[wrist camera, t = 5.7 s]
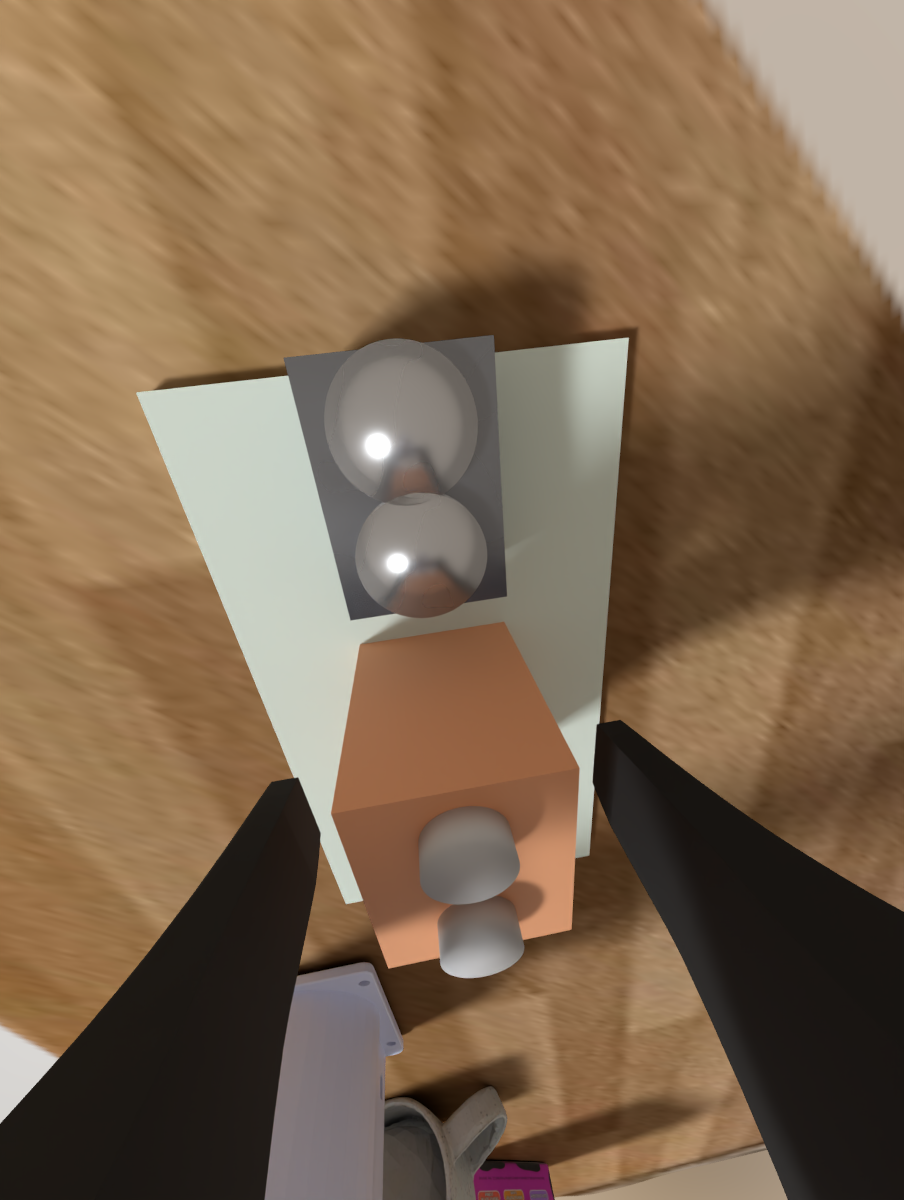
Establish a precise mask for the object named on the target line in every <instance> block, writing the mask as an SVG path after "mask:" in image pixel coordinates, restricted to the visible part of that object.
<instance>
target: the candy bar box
mask: <svg viewBox="0 0 904 1200" xmlns="http://www.w3.org/2000/svg"><path fill="white" fill-rule="evenodd" d="M473 1182H474V1189H475V1196H476V1200H555V1199H554V1194H553V1190H552V1184H551V1179H550V1174H549V1169H548V1165H547V1164H546V1163H537V1162H507V1161H484V1163H483V1164H482V1165H481V1167H480V1168H479V1169H478V1170H477V1171H476V1173H475V1174H474V1180H473Z"/></svg>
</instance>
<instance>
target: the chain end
mask: <svg viewBox="0 0 904 1200" xmlns="http://www.w3.org/2000/svg"><path fill="white" fill-rule="evenodd" d="M284 361H285V365H286V369H287V373H288V377H289V381H290V385H291V389H292V393H293V397H294V401H295V405H296V409H297V413H298V416H299V420H300V424H301V428H302V432H303V436H304V440H305V444H306V448H307V452H308V456H309V460H310V464H311V468H312V471H313V475H314V479H315V483H316V487H317V491H318V495H319V499H320V503H321V507H322V511H323V515H324V519H325V523H326V526H327V530H328V534H329V538H330V542H331V546H332V550H333V554H334V558H335V562H336V566H337V570H338V574H339V577H340V581H341V585H342V589H343V593H344V597H345V601H346V605H347V609H348V613H349V617H350V621H351V620H357V619H364V618H370V617H377V616H383V615H390V614H398V615H402V616H406V617H411V618H431V617H436V616H440V615H443V614H446V613H448V612H450V611H452V610H454V609H456V608H457V607H459V606H461V605H462V604H463V603H468V602H475V601H481V600H488V599H494V598H501V597H507V584H506V564H505V545H504V525H503V505H502V486H501V466H500V447H499V427H498V407H497V388H496V368H495V348H494V335H490V336H480V337H471V338H462V339H453V340H444V341H434V342H425V343H421V342H417V341H414V340H409V339H401V338H399V339H386V340H380V341H377V342H374V343H371V344H368V345H367V346H365V347H363V348H361V349H359V350H351V351H342V352H333V353H324V354H315V355H305V356H296V357H287V358H284Z"/></svg>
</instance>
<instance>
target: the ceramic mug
mask: <svg viewBox="0 0 904 1200" xmlns="http://www.w3.org/2000/svg"><path fill="white" fill-rule="evenodd" d="M506 1123H507V1115H506V1111H505V1109H504V1107H503V1105H502V1102H501V1100H500V1098H499V1096H498V1094H497V1091H496V1090H495V1089H494V1088H493V1087H492V1086H489V1087H486V1088H483V1089H481V1090H479V1091H477V1092H476V1093H475V1094H473V1095H472V1096H471V1097H469V1098H468V1099H467V1100H466V1101H465V1102H464V1103H463V1104H462V1105H461V1106H460V1107H459V1108H458V1109H457V1110H456V1111H455V1112H454V1113H453V1114H452V1115H451V1116H450V1117H449V1118H448V1119H447V1121H446V1122H445V1123H442V1122H441V1121H440V1120H439V1119H438V1118H437V1117H436V1116H435V1115H434V1114H433V1113H432V1112H431V1111H430V1110H429V1109H427V1108H426V1107H425V1106H424V1105H422V1104H421V1103H419V1102H418V1101H416V1100H414V1099H411V1098H407V1097H396V1098H392V1099H389V1100H386V1101H385V1105H384V1153H383V1200H476V1196H475V1189H474V1182H473V1180H474V1174H475V1173H476V1171H477V1170H478V1169H479V1168H480V1167H481V1165H482V1164H483V1163H484V1161H485V1159H486V1158H487V1157H488V1156H489V1154H490V1153H491V1152H492V1151H493V1149H494V1148H495V1146H496V1144H497V1143H498V1142H499V1140H500V1138H501V1136H502V1134H503V1132H504V1130H505V1127H506Z"/></svg>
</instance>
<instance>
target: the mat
mask: <svg viewBox="0 0 904 1200" xmlns="http://www.w3.org/2000/svg"><path fill="white" fill-rule="evenodd" d="M628 341H629V338H621V339H612V340H603V341H594V342H585V343H576V344H567V345H558V346H549V347H540V348H531V349H522V350H513V351H504V352H495V368H496V388H497V407H498V427H499V447H500V466H501V486H502V505H503V525H504V545H505V564H506V584H507V597H501V598H494V599H488V600H481V601H475V602H468V603H463V604H462V605H461V606H459V607H457V608H456V609H454V610H452V611H450V612H448V613H446V614H443V615H440V616H436V617H431V618H411V617H406V616H402V615H398V614H390V615H383V616H377V617H370V618H364V619H357V620H351V621H350V617H349V613H348V609H347V605H346V601H345V597H344V593H343V589H342V585H341V581H340V577H339V574H338V570H337V566H336V562H335V558H334V554H333V550H332V546H331V542H330V538H329V534H328V530H327V526H326V523H325V519H324V515H323V511H322V507H321V503H320V499H319V495H318V491H317V487H316V483H315V479H314V475H313V471H312V468H311V464H310V460H309V456H308V452H307V448H306V444H305V440H304V436H303V432H302V428H301V424H300V420H299V416H298V413H297V409H296V405H295V401H294V397H293V393H292V389H291V385H290V381H289V377H288V376H280V377H271V378H262V379H253V380H244V381H235V382H226V383H217V384H208V385H199V386H191V387H182V388H173V389H164V390H155V391H146V392H137V396H138V398H139V401H140V403H141V406H142V408H143V411H144V413H145V415H146V418H147V420H148V423H149V425H150V428H151V430H152V432H153V435H154V437H155V440H156V442H157V445H158V447H159V450H160V452H161V454H162V457H163V459H164V462H165V464H166V467H167V469H168V471H169V474H170V476H171V479H172V481H173V484H174V486H175V489H176V491H177V493H178V496H179V498H180V501H181V503H182V506H183V508H184V510H185V513H186V515H187V518H188V520H189V523H190V525H191V527H192V530H193V532H194V535H195V537H196V540H197V542H198V545H199V547H200V549H201V552H202V554H203V557H204V559H205V562H206V564H207V566H208V569H209V571H210V574H211V576H212V579H213V581H214V584H215V586H216V588H217V591H218V593H219V596H220V598H221V601H222V603H223V605H224V608H225V610H226V613H227V615H228V618H229V620H230V623H231V625H232V627H233V630H234V632H235V635H236V637H237V640H238V642H239V644H240V647H241V649H242V652H243V654H244V657H245V659H246V662H247V664H248V666H249V669H250V671H251V674H252V676H253V679H254V681H255V683H256V686H257V688H258V691H259V693H260V696H261V698H262V701H263V703H264V705H265V708H266V710H267V713H268V715H269V718H270V720H271V722H272V725H273V727H274V730H275V732H276V735H277V737H278V740H279V742H280V744H281V747H282V749H283V752H284V754H285V757H286V759H287V761H288V764H289V766H290V769H291V771H292V774H293V776H294V778H297V777H298V778H299V780H300V783H301V785H302V788H303V790H304V793H305V795H306V798H307V800H308V803H309V805H310V808H311V810H312V813H313V815H314V818H315V820H316V823H317V825H318V827H319V830H320V832H321V837H320V842H321V844H322V847H323V849H324V852H325V854H326V856H327V859H328V861H329V864H330V866H331V869H332V871H333V874H334V876H335V878H336V881H337V883H338V886H339V888H340V891H341V893H342V895H343V898H344V900H345V903H346V904H349V903H354V902H359V901H363V899H362V896H361V893H360V891H359V888H358V885H357V883H356V880H355V877H354V875H353V872H352V869H351V867H350V864H349V861H348V859H347V856H346V853H345V851H344V848H343V845H342V843H341V840H340V837H339V835H338V832H337V829H336V826H335V824H334V821H333V818H332V816H331V810H332V804H333V798H334V793H335V787H336V781H337V775H338V769H339V763H340V757H341V752H342V746H343V740H344V734H345V728H346V722H347V716H348V711H349V705H350V699H351V693H352V687H353V681H354V675H355V669H356V664H357V658H358V652H359V646H360V644H366V643H372V642H379V641H385V640H391V639H398V638H404V637H410V636H417V635H423V634H429V633H436V632H442V631H448V630H455V629H461V628H468V627H474V626H480V625H487V624H493V623H499V622H505V624H506V626H507V628H508V630H509V632H510V634H511V636H512V638H513V640H514V642H515V643H516V645H517V647H518V649H519V651H520V653H521V655H522V657H523V659H524V661H525V663H526V665H527V667H528V669H529V671H530V673H531V674H532V676H533V678H534V680H535V682H536V684H537V686H538V688H539V690H540V692H541V694H542V696H543V698H544V700H545V702H546V704H547V706H548V707H549V709H550V711H551V713H552V715H553V717H554V719H555V721H556V723H557V725H558V727H559V729H560V731H561V733H562V735H563V737H564V738H565V740H566V742H567V744H568V746H569V748H570V750H571V752H572V754H573V756H574V758H575V760H576V762H577V764H578V766H579V768H580V772H579V792H578V812H577V831H576V851H575V858H579V857H584V856H589V852H590V839H591V826H592V813H593V799H594V785H593V783H592V781H593V767H594V753H595V740H596V726H597V724H599V721H600V708H601V695H602V682H603V669H604V655H605V642H606V629H607V616H608V603H609V590H610V577H611V564H612V551H613V538H614V525H615V512H616V498H617V485H618V472H619V459H620V446H621V433H622V420H623V407H624V394H625V381H626V368H627V354H628Z"/></svg>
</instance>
